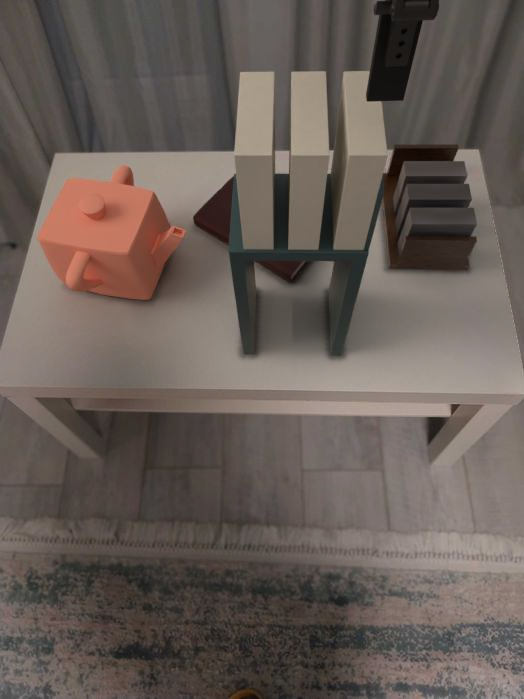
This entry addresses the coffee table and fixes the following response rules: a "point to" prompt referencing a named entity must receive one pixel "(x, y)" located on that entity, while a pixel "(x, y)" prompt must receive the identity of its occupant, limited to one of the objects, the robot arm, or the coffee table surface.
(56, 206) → the teapot
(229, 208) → the book
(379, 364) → the coffee table surface
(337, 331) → the teal stand with panels
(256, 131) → the beige rectangular block
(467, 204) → the brown rack
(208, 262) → the coffee table surface
